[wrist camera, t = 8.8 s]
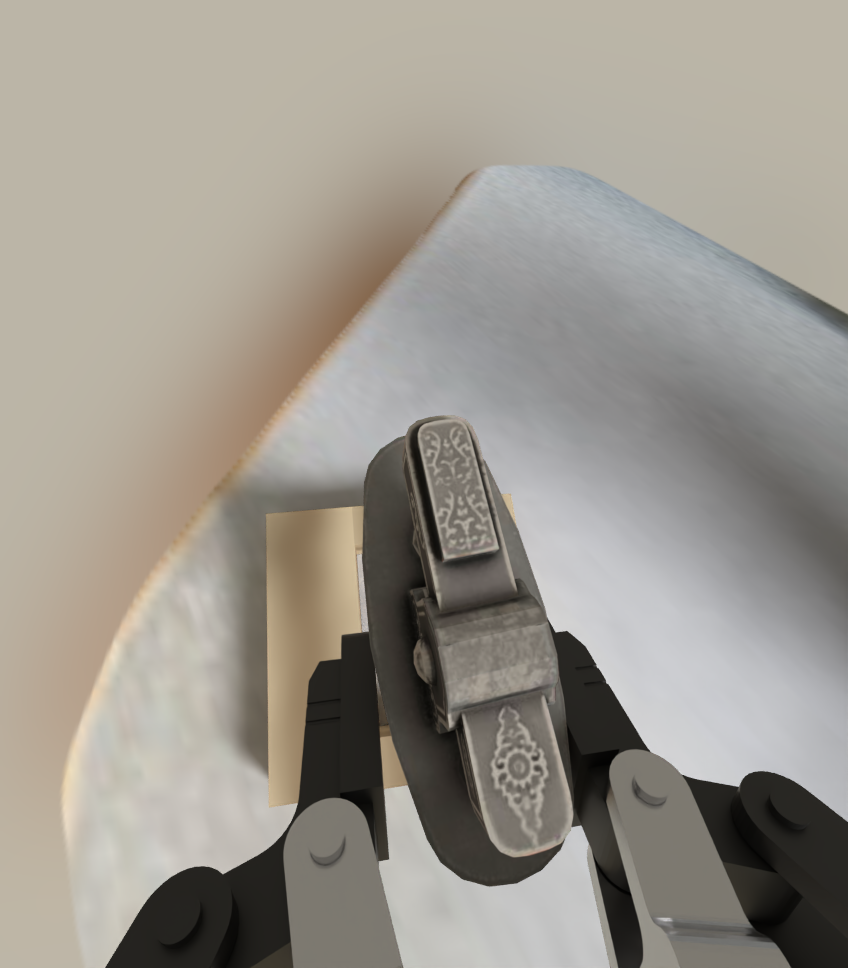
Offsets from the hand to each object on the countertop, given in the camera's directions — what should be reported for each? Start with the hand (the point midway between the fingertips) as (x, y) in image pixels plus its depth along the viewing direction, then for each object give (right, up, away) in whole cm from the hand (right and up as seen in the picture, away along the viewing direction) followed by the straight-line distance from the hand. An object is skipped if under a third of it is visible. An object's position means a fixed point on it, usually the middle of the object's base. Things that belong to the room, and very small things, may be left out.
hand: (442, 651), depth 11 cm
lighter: (-1, -1, +5) cm, 5 cm away
